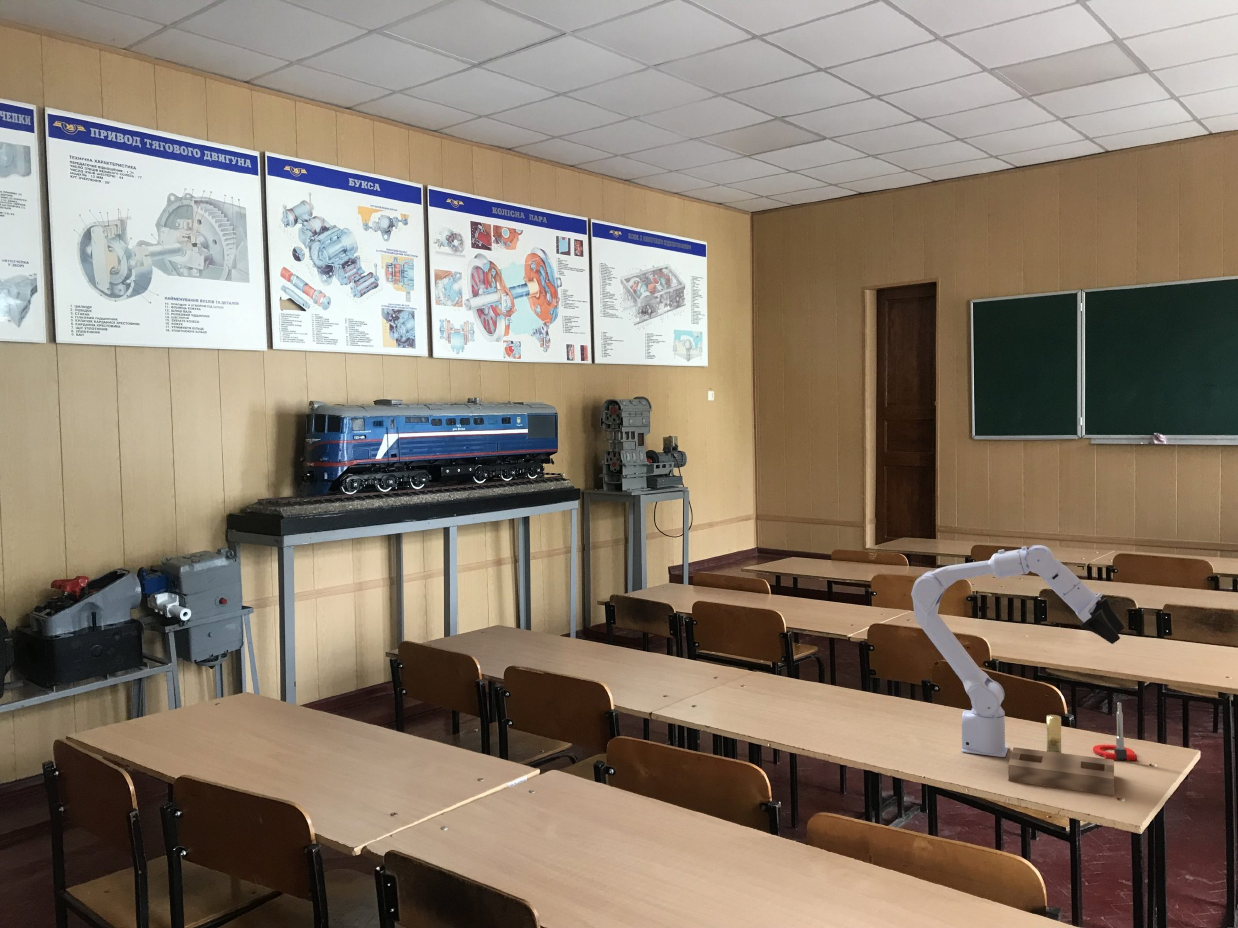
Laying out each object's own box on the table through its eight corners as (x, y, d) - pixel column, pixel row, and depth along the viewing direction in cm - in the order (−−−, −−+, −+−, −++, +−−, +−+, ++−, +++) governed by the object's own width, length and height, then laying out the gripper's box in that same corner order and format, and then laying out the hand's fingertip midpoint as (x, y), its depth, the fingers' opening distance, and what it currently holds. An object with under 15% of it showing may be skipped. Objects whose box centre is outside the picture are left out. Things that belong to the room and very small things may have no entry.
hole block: (1008, 780, 200) (1008, 764, 200) (1013, 762, 211) (1013, 747, 211) (1114, 795, 191) (1113, 778, 191) (1114, 775, 201) (1113, 759, 201)
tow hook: (1087, 748, 220) (1101, 760, 211) (1086, 693, 220) (1100, 703, 211) (1126, 749, 219) (1141, 761, 209) (1125, 694, 219) (1140, 704, 210)
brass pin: (1046, 761, 211) (1046, 717, 211) (1047, 757, 214) (1046, 714, 213) (1061, 763, 209) (1060, 719, 209) (1061, 759, 212) (1061, 715, 212)
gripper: (1079, 586, 201) (1129, 634, 197) (1089, 569, 213) (1137, 615, 209) (1054, 606, 205) (1102, 654, 201) (1065, 588, 217) (1112, 633, 212)
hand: (1118, 635), depth 205 cm, fingers open, 7 cm apart
